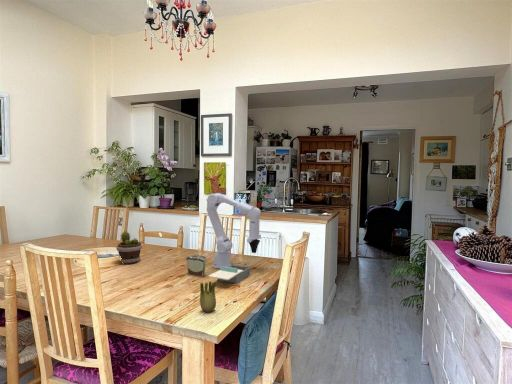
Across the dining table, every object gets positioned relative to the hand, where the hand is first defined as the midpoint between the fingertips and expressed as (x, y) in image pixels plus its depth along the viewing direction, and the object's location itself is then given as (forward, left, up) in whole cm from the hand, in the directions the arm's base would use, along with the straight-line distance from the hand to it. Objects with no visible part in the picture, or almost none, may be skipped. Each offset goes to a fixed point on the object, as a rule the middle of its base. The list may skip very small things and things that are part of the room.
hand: (253, 252), depth 183 cm
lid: (-4, -25, -6) cm, 26 cm away
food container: (-24, -20, -11) cm, 33 cm away
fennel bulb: (+6, -57, -11) cm, 58 cm away
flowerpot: (-75, -19, -11) cm, 78 cm away
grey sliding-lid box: (-4, -16, -10) cm, 19 cm away
